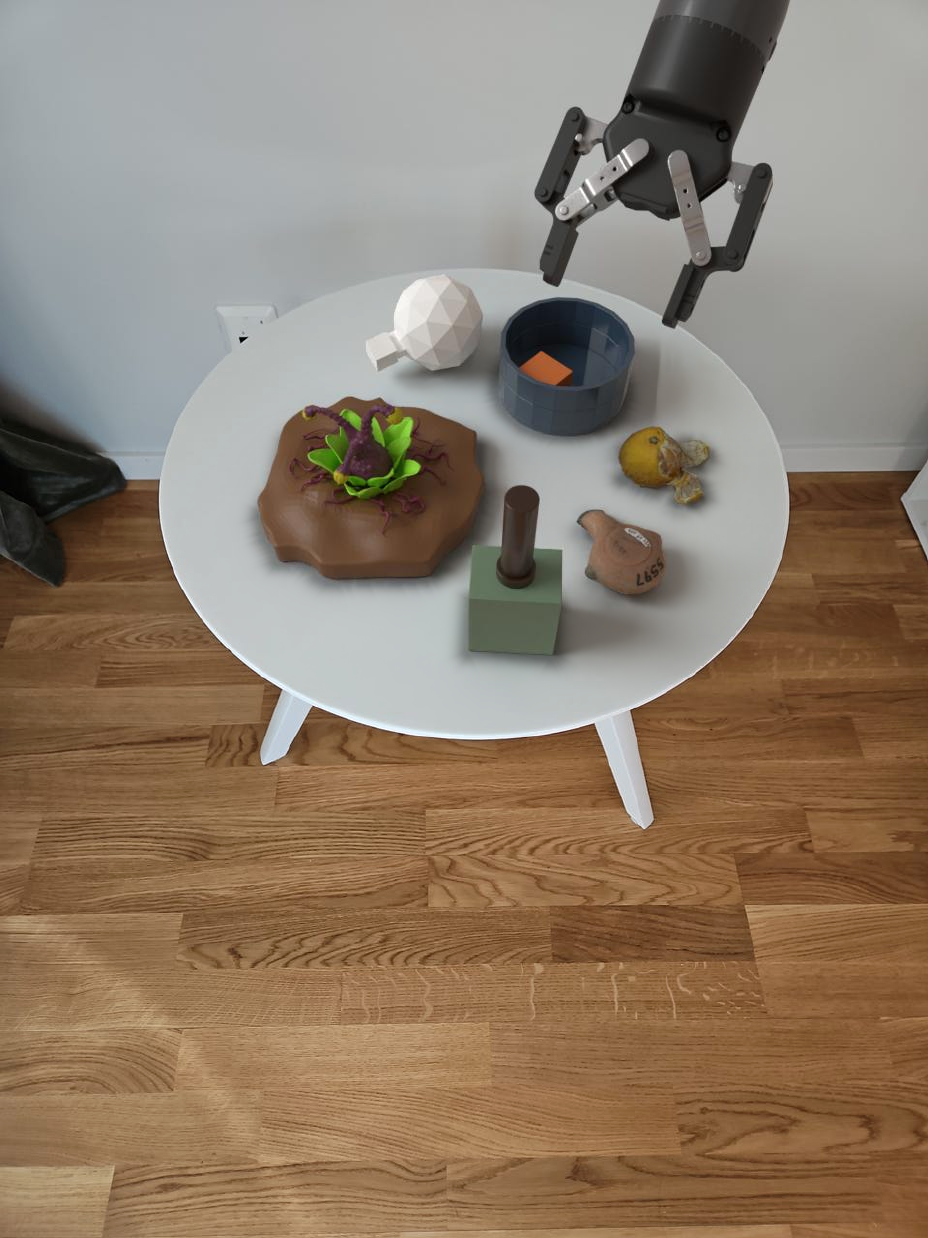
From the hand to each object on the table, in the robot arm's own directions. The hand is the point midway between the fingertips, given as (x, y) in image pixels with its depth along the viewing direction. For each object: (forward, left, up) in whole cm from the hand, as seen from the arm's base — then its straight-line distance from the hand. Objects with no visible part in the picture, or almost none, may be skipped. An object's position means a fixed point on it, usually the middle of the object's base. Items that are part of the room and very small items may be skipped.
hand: (608, 304), depth 60 cm
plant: (+18, -3, -25) cm, 31 cm away
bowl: (+1, -17, -25) cm, 30 cm away
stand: (+5, +11, -25) cm, 27 cm away
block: (+3, -15, -24) cm, 28 cm away
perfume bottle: (+15, -21, -25) cm, 36 cm away
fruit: (-9, -7, -25) cm, 27 cm away
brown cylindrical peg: (+5, +10, -17) cm, 20 cm away
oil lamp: (-4, +3, -25) cm, 25 cm away
